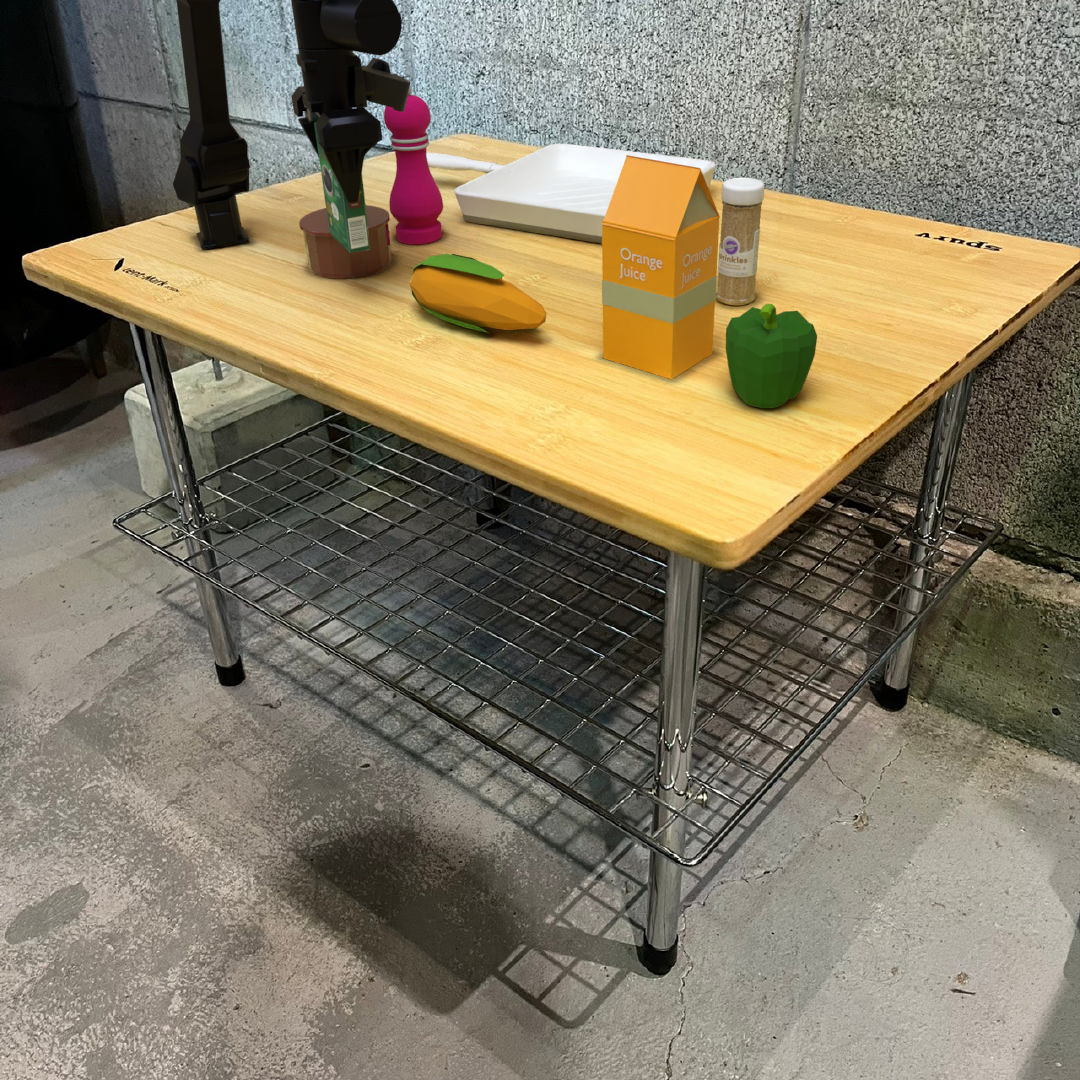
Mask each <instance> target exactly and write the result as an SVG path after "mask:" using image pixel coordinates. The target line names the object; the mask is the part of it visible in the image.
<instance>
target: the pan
mask: <svg viewBox="0 0 1080 1080" xmlns="http://www.w3.org/2000/svg"><path fill="white" fill-rule="evenodd" d="M626 155H629V156H635V157H640V158H646V159H652V160H657V161H663V162H669V163H674V164H680V165H686V166H691V167H697V168H700V169H701V171H702V174H703V176H704V179H705V181H706V184H707V186H708V189H709V190H710V186H711V182H712V180H713V177H714V174H715V170H716V167H717V164H716V162H715V161H712V160H707V159H703V158H701V159H700V158H691V157H683V156H675V155H668V154H667V155H666V154H658V153H650V152H649V153H648V152H639V151H632V150H625V149H624V150H623V149H615V148H607V147H599V146H598V147H597V146H588V145H581V144H571V143H552V144H548V145H545V146H544V147H541V148H539V149H537V150H534V151H533V152H531V153H528V154H526V155H524V156H522V157H520V158H517V159H516V160H514V161H511V162H509V163H507V164H499V163H498V162H493V161H482V160H477V159H471V158H468V157H463V156H461V155H454V154H446V153H438V152H428V151H426V156H427V162H428V166H429V168H431V169H440V170H445V171H456V172H462V171H463V172H465V171H474V172H478V173H484V174H483V175H481V176H479V177H476V178H474V179H472V180H469V181H468V182H465V183H463V184H460V185H459V186H457V187H456V188H454V191H453V193H454V195H455V198H456V201H457V204H458V206H459V209H460V212H461V214H462V216H463V218H464V220H465V221H466V222H468V223H471V224H478V225H483V226H489V227H495V228H503V229H508V230H514V231H515V230H516V231H522V232H528V233H535V234H539V235H540V234H541V235H546V236H552V237H553V236H554V237H559V238H565V239H570V240H577V241H582V242H589V243H594V244H600V245H602V221H603V220H604V218H605V215H606V212H607V209H608V207H609V204H610V201H611V198H612V195H613V193H614V190H615V187H616V184H617V181H618V179H619V176H620V173H621V170H622V167H623V165H624V162H625V159H626Z"/></svg>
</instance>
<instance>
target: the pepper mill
mask: <svg viewBox="0 0 1080 1080" xmlns="http://www.w3.org/2000/svg"><path fill="white" fill-rule="evenodd" d="M431 116H432V115H431V111H430V107H429V105H428V104H427V103H426V101H425V100H424V99H423V98H421V97H419V96H417V95H414V94H412V87H411V85H410V88H409V92H408V97H407V101H406V106H405V110H404V112H400V111H396V110H394V109H393V108H392V107H388V106H384V110H383V121H384V125H385V127H386V128H387V130H388V131H389V132H390V133H391V135H390V137H389V140H390V142H391V144H390V148H391V149H393V150H394V154H395V161H396V163H395V164H396V171H395V178H394V181H393V183H392V188H391V191H390V195H389V202H388V205H389V213H390V215H391V216H392V217H393V218H394V219H395V220H396V221H397V222H398V223H397V224H396V225H395V227H394V228H395V235H396V241H398V242H399V243H401V244H403V245H412V246H415V245H427V244H431V243H435V242H436V241H439V240H440V239H441V238H442V237H443V228H442V227H443V226H442V222H441V221H440V220H439V219H438V218H439V217H440V216H441V214H442V212H443V209H444V202H443V196H442V194H441V190H440V188H439V187H438V184H437V183H436V181H435V178H434V177H433V175H432V173H431V169H430V167H429V166H428V162H427V156H426V152H427V148H428V147H429V145H430V142H429V137H430V135H429V134H428V133H427V130H428V128H429V126H430V124H431V119H432V117H431Z"/></svg>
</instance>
